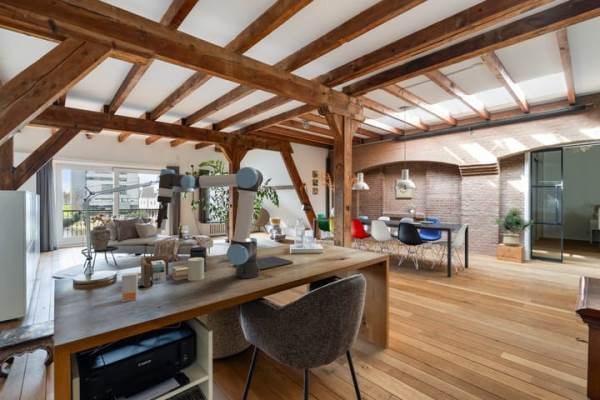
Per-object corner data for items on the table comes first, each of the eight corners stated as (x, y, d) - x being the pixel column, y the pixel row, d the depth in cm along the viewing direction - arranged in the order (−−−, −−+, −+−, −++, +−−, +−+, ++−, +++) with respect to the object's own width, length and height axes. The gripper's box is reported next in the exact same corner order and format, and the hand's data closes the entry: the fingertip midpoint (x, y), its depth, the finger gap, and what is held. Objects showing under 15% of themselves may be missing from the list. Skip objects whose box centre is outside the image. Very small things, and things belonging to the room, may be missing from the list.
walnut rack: (174, 282, 157) (174, 261, 156) (144, 287, 148) (144, 265, 148) (168, 273, 175) (168, 254, 175) (141, 277, 167) (140, 257, 167)
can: (198, 281, 159) (198, 260, 159) (184, 280, 161) (184, 259, 161) (207, 276, 168) (207, 256, 168) (193, 276, 170) (193, 256, 170)
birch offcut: (189, 273, 167) (189, 268, 167) (176, 275, 163) (176, 270, 162) (184, 270, 174) (184, 265, 174) (172, 272, 169) (172, 267, 169)
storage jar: (209, 269, 185) (208, 247, 184) (202, 274, 175) (202, 250, 175) (194, 269, 186) (194, 246, 185) (187, 273, 176) (187, 249, 176)
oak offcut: (189, 278, 166) (189, 273, 166) (174, 281, 162) (174, 275, 162) (185, 274, 175) (185, 270, 174) (171, 276, 170) (171, 272, 170)
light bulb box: (166, 282, 158) (165, 263, 158) (152, 284, 154) (152, 264, 154) (163, 277, 167) (163, 259, 167) (150, 279, 163) (150, 261, 163)
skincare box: (121, 302, 128) (121, 276, 128) (123, 299, 132) (122, 273, 132) (136, 300, 130) (136, 274, 130) (138, 297, 134) (137, 272, 134)
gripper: (161, 194, 174) (157, 227, 175) (153, 196, 150) (148, 235, 151) (174, 195, 176) (170, 228, 177) (168, 197, 152) (164, 236, 153)
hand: (160, 231), depth 164 cm, fingers open, 13 cm apart
